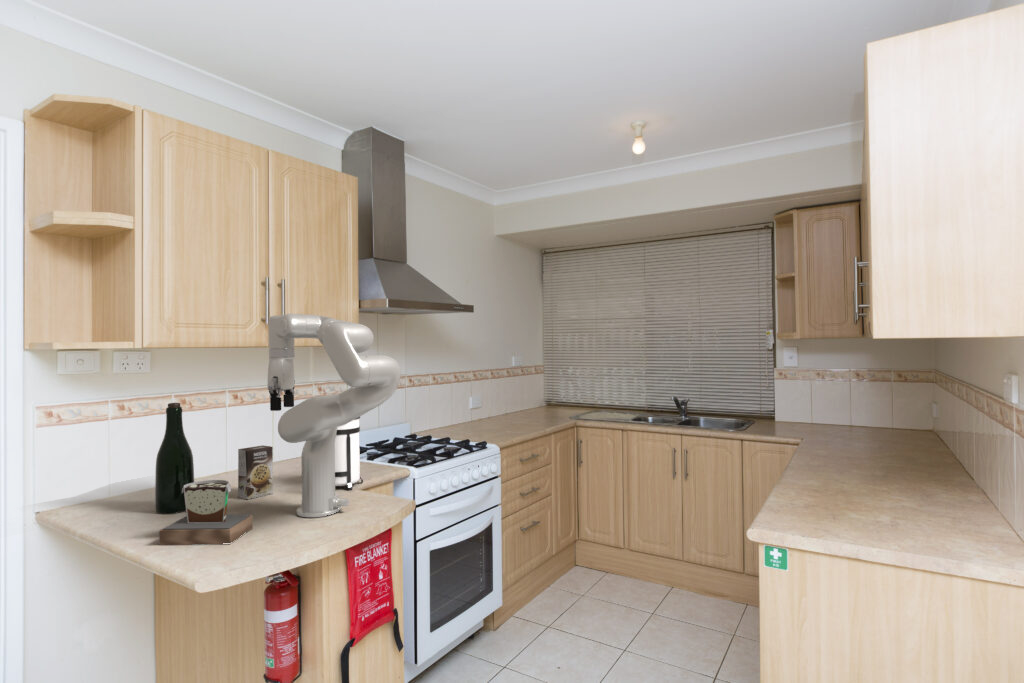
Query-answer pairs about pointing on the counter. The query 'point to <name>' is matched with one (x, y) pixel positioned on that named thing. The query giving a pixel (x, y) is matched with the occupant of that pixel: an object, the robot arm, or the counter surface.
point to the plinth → (205, 531)
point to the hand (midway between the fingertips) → (282, 408)
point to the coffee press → (347, 454)
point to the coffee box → (255, 471)
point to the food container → (206, 501)
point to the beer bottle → (173, 464)
